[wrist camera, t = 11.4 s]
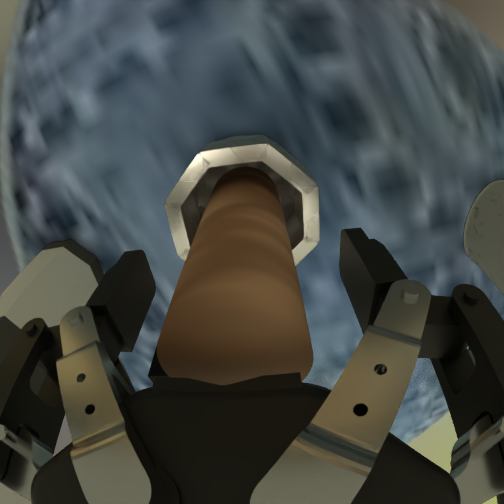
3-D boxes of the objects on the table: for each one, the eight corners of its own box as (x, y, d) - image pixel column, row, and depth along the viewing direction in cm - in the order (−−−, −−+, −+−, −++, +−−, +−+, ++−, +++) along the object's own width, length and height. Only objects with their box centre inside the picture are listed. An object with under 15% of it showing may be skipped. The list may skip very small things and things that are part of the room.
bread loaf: (275, 163, 16) (316, 300, 6) (280, 224, 18) (310, 396, 8) (207, 171, 16) (133, 313, 6) (218, 230, 18) (182, 401, 8)
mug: (295, 126, 17) (323, 145, 11) (303, 285, 24) (319, 358, 17) (184, 140, 18) (143, 168, 11) (217, 293, 25) (206, 367, 18)
